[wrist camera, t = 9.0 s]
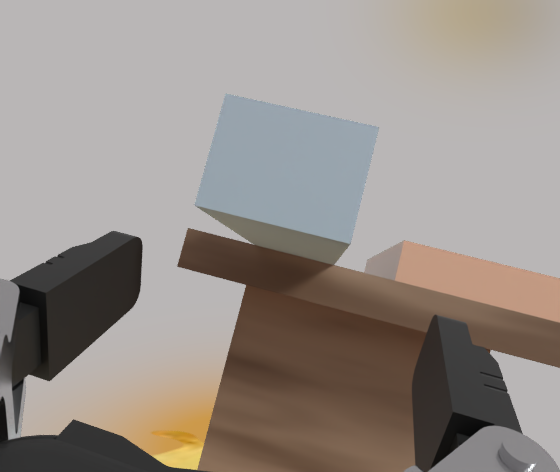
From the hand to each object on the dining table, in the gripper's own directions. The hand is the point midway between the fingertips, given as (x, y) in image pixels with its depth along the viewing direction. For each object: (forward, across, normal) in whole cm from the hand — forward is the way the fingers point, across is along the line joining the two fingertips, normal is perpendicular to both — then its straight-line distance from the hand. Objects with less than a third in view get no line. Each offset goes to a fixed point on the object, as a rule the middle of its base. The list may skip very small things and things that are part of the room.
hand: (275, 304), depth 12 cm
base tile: (+17, +7, -7) cm, 20 cm away
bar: (+12, -1, -4) cm, 13 cm away
